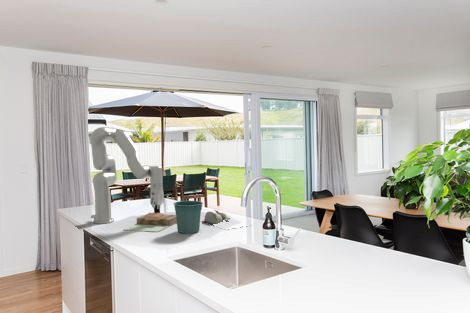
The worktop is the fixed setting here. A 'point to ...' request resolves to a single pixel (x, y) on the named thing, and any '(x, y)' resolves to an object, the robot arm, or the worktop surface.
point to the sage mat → (146, 228)
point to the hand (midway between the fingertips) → (157, 215)
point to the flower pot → (188, 216)
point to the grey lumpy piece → (215, 218)
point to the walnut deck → (164, 221)
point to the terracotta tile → (153, 216)
